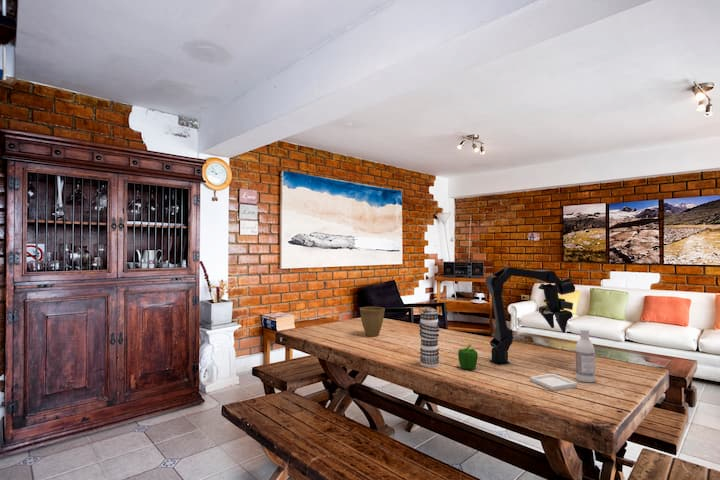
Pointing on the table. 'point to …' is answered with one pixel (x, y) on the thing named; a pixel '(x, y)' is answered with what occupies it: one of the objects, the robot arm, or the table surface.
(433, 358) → the leaning tower model
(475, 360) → the bell pepper
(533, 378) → the tray
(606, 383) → the table surface
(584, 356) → the bath foam
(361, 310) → the plant pot
